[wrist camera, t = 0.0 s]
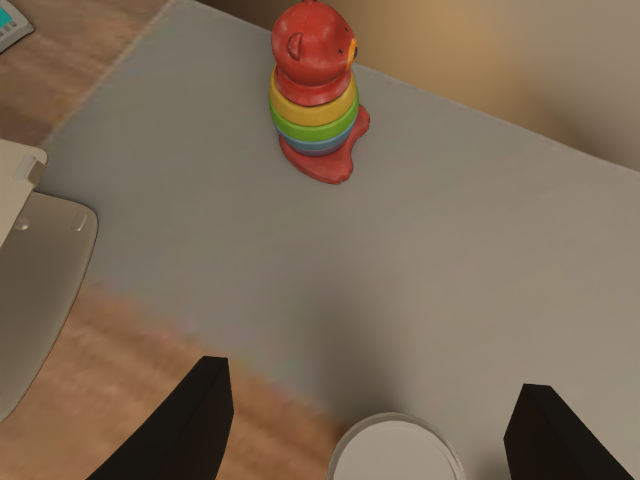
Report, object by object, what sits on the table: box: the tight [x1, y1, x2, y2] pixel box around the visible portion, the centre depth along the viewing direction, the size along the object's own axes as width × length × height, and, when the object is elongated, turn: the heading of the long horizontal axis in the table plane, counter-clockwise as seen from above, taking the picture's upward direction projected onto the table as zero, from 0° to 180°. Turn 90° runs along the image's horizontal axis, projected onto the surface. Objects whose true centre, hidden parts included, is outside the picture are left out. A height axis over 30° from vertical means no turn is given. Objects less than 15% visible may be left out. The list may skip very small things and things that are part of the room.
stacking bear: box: [269, 0, 370, 184], centre depth 42 cm, size 11×10×18 cm
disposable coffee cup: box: [326, 412, 466, 480], centre depth 33 cm, size 10×10×12 cm
